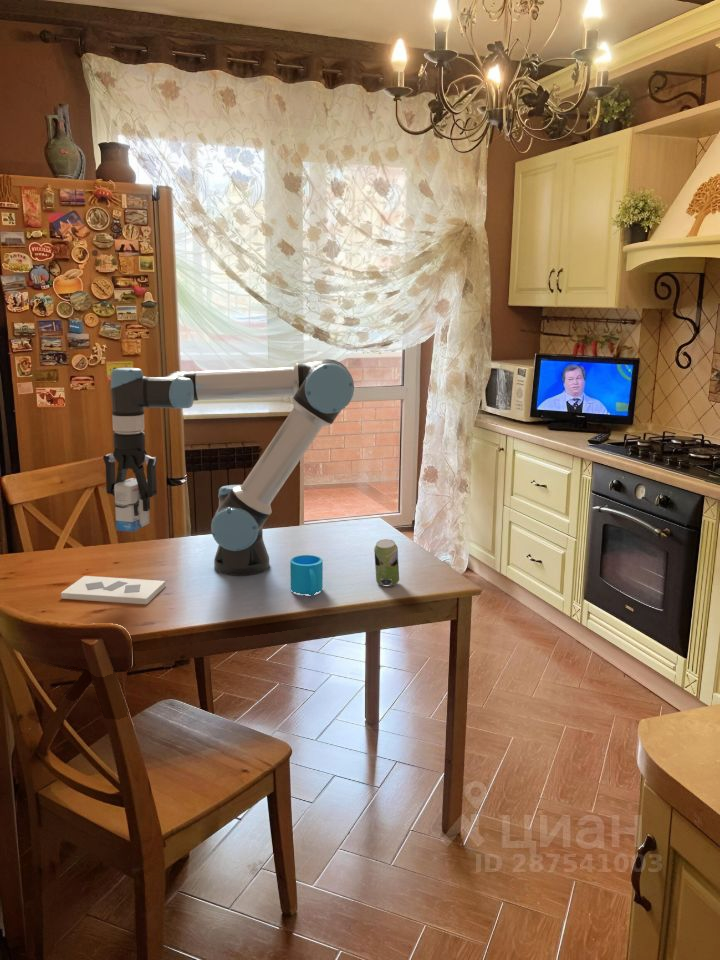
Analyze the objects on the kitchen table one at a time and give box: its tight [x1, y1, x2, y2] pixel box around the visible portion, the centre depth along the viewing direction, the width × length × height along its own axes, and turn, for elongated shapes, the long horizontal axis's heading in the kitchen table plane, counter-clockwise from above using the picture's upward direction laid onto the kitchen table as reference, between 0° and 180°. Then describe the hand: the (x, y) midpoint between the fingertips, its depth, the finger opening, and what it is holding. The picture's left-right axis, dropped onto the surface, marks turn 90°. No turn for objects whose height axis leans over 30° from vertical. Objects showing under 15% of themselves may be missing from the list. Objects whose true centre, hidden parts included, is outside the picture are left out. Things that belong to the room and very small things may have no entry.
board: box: [60, 575, 167, 605], centre depth 191 cm, size 22×12×2 cm, turn 82°
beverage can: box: [373, 539, 400, 586], centre depth 197 cm, size 6×7×12 cm
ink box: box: [114, 477, 150, 533], centre depth 191 cm, size 8×5×12 cm, turn 165°
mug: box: [289, 554, 324, 596], centre depth 192 cm, size 12×8×8 cm
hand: (133, 521), depth 192 cm, fingers closed on ink box, 5 cm apart
